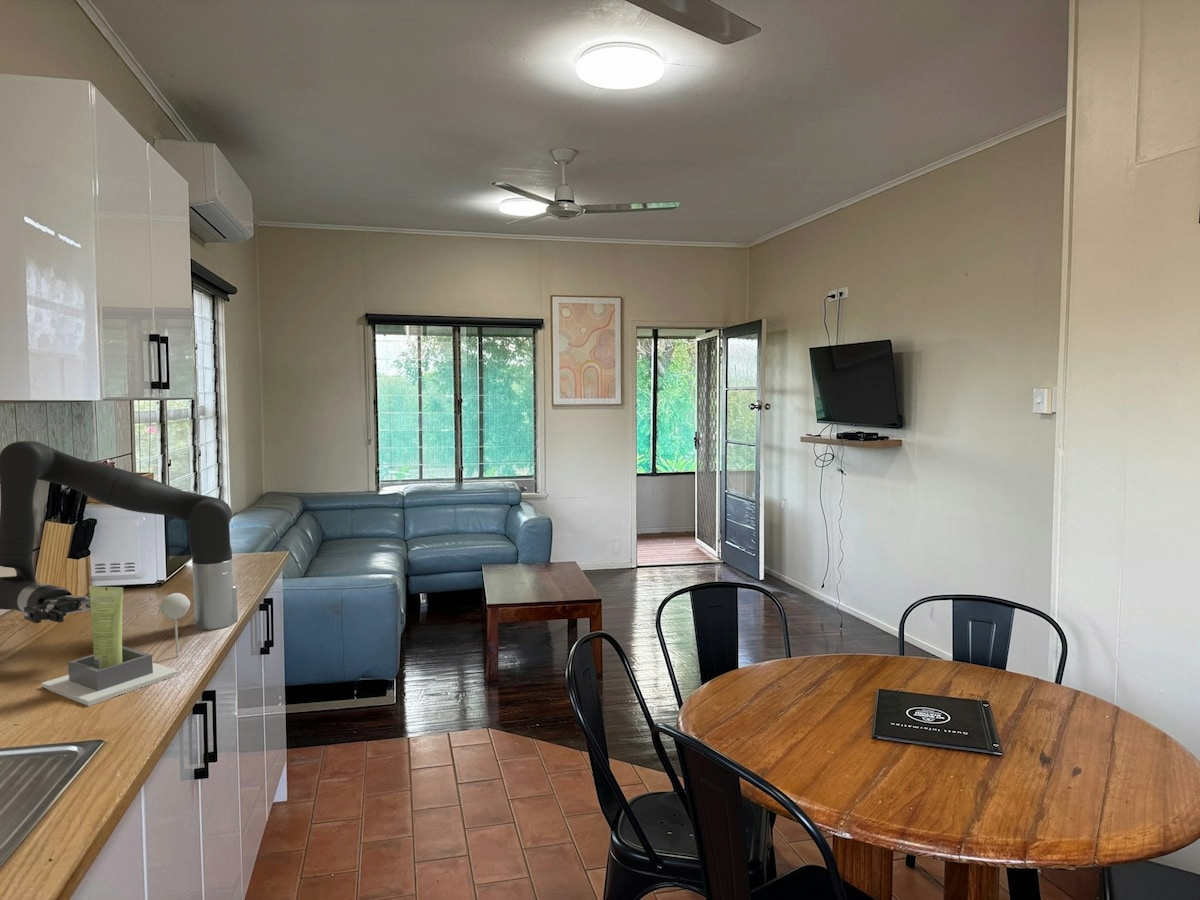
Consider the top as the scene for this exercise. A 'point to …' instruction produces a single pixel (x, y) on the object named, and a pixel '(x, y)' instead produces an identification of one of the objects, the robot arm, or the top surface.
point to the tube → (106, 625)
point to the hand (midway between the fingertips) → (83, 612)
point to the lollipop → (175, 609)
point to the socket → (108, 677)
